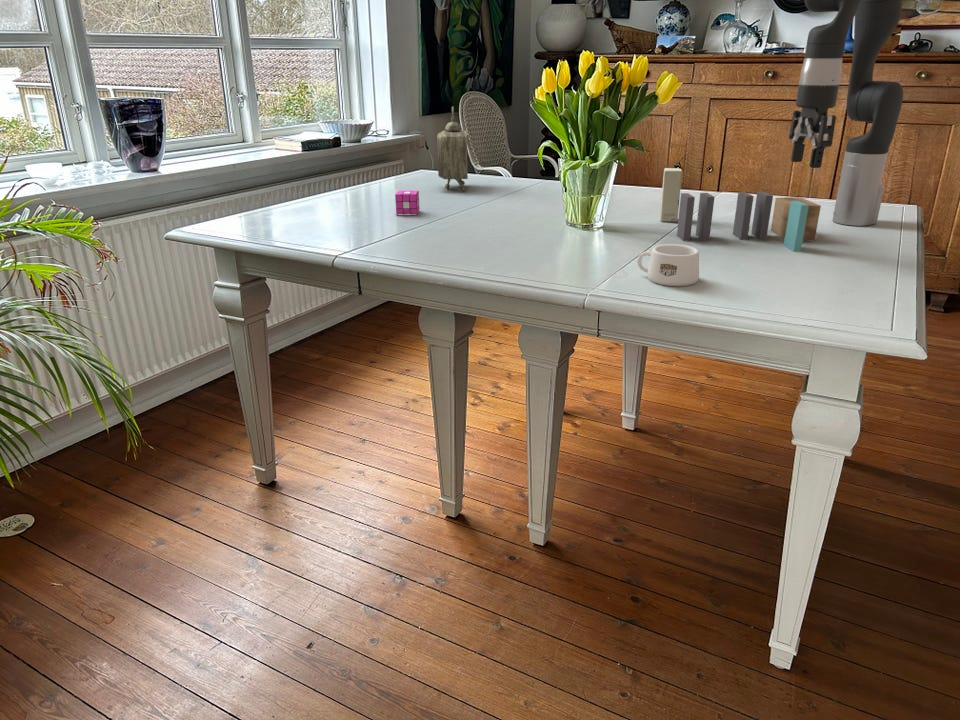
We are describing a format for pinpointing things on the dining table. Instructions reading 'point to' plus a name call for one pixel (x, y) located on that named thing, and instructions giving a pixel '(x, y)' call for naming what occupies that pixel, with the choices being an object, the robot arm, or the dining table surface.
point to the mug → (672, 265)
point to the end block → (783, 212)
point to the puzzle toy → (407, 202)
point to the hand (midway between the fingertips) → (805, 164)
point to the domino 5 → (796, 225)
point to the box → (670, 194)
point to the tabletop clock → (452, 153)
